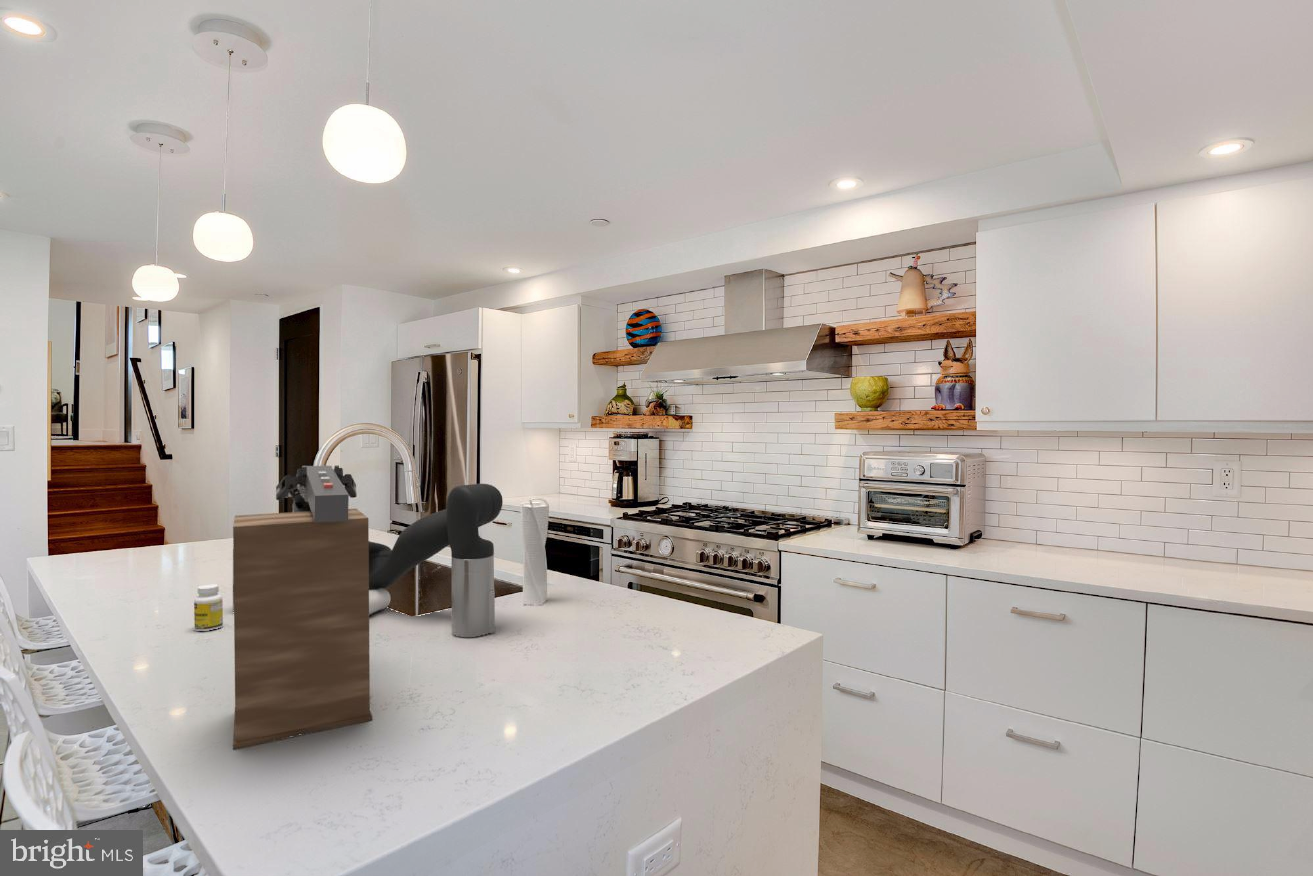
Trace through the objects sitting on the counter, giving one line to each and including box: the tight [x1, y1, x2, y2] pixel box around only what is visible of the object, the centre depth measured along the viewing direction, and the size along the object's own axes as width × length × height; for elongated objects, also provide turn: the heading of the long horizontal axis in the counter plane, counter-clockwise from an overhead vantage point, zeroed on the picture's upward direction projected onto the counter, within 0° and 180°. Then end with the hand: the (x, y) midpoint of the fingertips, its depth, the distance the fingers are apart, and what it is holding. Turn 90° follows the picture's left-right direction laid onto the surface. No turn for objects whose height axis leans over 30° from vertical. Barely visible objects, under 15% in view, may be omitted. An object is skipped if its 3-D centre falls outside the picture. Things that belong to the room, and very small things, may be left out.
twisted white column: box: [520, 496, 550, 606], centre depth 176 cm, size 8×8×28 cm
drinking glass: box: [369, 588, 391, 616], centre depth 163 cm, size 7×7×15 cm
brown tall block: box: [232, 508, 373, 750], centre depth 107 cm, size 15×19×32 cm
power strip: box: [305, 465, 350, 523], centre depth 113 cm, size 30×4×4 cm, turn 30°
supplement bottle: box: [193, 583, 224, 632], centre depth 153 cm, size 5×5×10 cm
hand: (320, 470), depth 118 cm, fingers closed on power strip, 4 cm apart
